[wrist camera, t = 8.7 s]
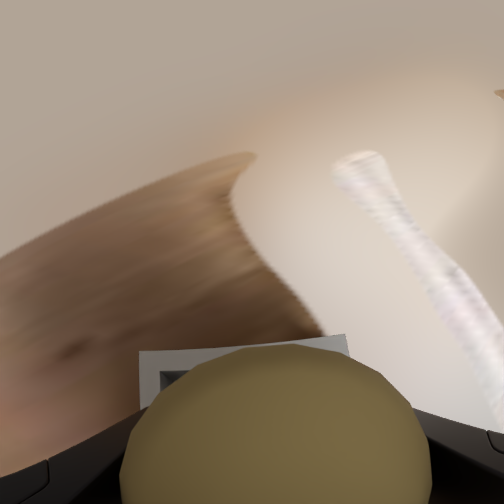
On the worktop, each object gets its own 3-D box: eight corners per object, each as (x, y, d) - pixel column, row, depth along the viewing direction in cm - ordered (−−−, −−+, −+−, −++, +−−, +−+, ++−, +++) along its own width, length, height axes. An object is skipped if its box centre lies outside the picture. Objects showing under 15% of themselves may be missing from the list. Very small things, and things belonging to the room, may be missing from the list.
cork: (245, 364, 14) (261, 214, 5) (346, 439, 13) (534, 417, 3) (157, 455, 12) (-7, 477, 2) (262, 534, 10) (310, 688, 1)
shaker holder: (356, 511, 13) (383, 527, 10) (164, 531, 12) (146, 553, 9) (331, 343, 19) (352, 322, 15) (150, 359, 18) (129, 341, 15)
